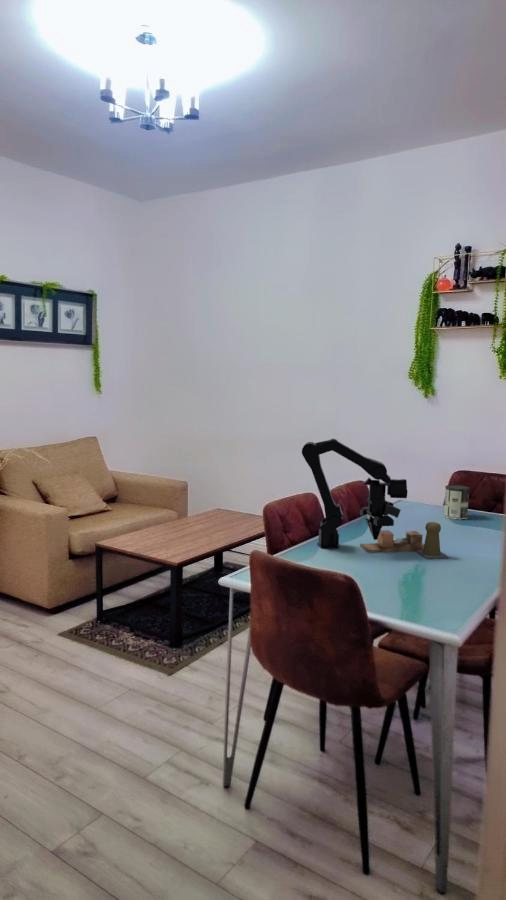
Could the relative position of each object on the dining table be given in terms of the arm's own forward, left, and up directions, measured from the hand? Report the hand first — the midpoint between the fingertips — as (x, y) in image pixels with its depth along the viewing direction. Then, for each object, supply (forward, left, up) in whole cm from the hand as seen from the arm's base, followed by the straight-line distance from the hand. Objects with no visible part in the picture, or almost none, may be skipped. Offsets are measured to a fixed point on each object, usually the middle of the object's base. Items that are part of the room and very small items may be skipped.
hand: (375, 539), depth 214 cm
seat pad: (+18, -9, -4) cm, 20 cm away
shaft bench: (+8, 0, -4) cm, 9 cm away
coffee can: (+56, +46, -4) cm, 73 cm away
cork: (+18, -9, -3) cm, 20 cm away
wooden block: (+7, 0, -2) cm, 7 cm away
